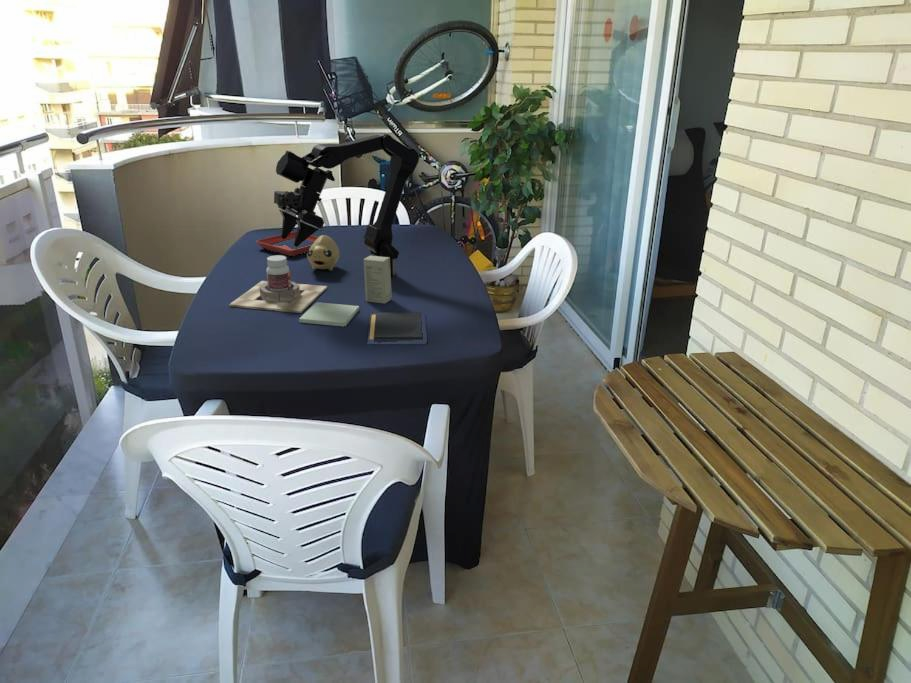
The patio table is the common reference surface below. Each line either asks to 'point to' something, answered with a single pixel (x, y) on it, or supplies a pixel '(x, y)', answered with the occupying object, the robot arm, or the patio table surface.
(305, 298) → the collar plate
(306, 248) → the red square frame
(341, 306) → the green mat
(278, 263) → the pill bottle
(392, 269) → the robot arm
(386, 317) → the dark book
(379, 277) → the skincare box
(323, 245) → the beige toy figure
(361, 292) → the patio table surface
